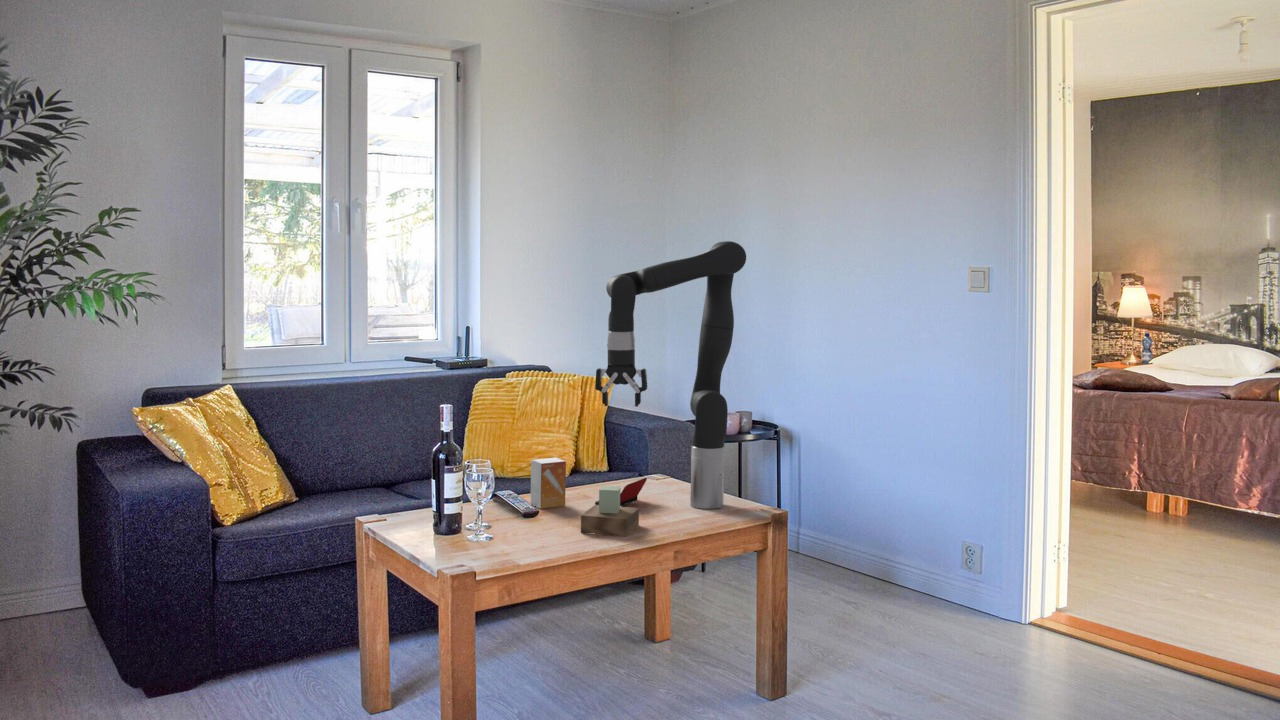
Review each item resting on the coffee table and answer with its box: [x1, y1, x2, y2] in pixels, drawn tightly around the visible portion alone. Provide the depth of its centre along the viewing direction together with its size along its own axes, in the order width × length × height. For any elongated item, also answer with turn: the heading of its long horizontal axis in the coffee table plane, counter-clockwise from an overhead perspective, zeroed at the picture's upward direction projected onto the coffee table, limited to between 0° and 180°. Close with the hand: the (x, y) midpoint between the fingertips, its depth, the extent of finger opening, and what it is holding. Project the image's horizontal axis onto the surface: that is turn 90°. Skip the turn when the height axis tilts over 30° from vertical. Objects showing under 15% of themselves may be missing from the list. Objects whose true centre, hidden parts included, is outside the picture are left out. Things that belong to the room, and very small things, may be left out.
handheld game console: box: [594, 477, 648, 507], centre depth 286 cm, size 12×11×7 cm
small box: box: [530, 456, 567, 510], centre depth 281 cm, size 8×6×13 cm
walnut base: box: [580, 504, 640, 538], centre depth 258 cm, size 12×12×5 cm
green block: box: [598, 485, 621, 514], centre depth 258 cm, size 5×5×6 cm
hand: (621, 406), depth 277 cm, fingers open, 8 cm apart
